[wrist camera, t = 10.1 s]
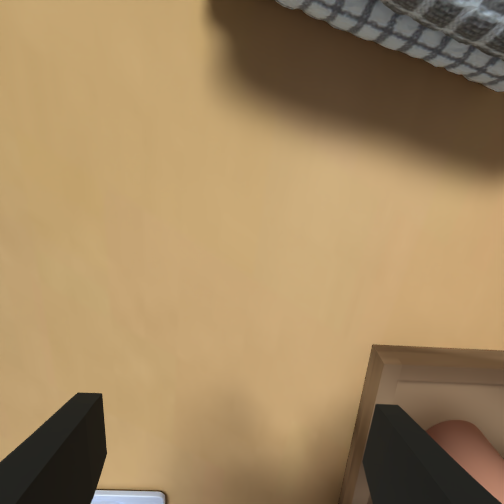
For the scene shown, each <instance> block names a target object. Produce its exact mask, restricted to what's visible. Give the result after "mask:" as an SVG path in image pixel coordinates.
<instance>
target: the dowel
mask: <svg viewBox="0 0 504 504" xmlns="http://www.w3.org/2000/svg"><path fill="white" fill-rule="evenodd" d="M426 432H427V433H428V434H429V435H430V436H431V437H432V438H433V439H434V440H435V441H436V442H437V443H438V444H439V445H440V446H441V447H442V448H443V449H444V450H445V451H446V452H447V453H448V454H449V455H450V456H451V457H452V458H453V459H454V460H455V461H456V462H457V463H458V464H459V465H460V466H461V467H463V468H464V469H465V470H466V471H467V472H468V473H469V474H470V475H471V476H472V477H473V478H474V479H475V480H476V481H477V482H479V483H480V484H481V485H482V486H483V487H484V488H485V489H486V490H487V491H488V492H489V493H491V494H492V495H493V496H494V497H495V498H496V499H497V500H499V501H500V502H501V503H502V504H504V459H503V458H502V457H501V456H500V454H499V453H498V452H497V451H496V449H495V448H494V447H493V446H492V444H491V443H490V442H489V441H488V440H487V438H486V437H485V436H484V435H483V433H482V432H481V431H480V430H479V429H478V427H476V426H475V425H474V424H472V423H470V422H467V421H463V420H449V421H444V422H441V423H439V424H436V425H434V426H433V427H431V428H429V429H428V430H427V431H426Z"/></svg>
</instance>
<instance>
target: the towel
mask: <svg viewBox="0 0 504 504" xmlns="http://www.w3.org/2000/svg"><path fill="white" fill-rule="evenodd" d="M275 1H276V2H277V3H279V4H280V5H282V6H283V7H286V8H289V9H292V10H293V9H300V10H302V11H303V12H304V13H305V14H307V15H309V16H310V17H312V18H315V19H319V20H324V21H326V22H327V23H329V24H330V25H331V26H332V27H334V28H336V29H339V30H342V31H347V32H350V33H351V34H353V35H355V36H356V37H359V38H362V39H364V40H369V41H374V42H376V43H378V44H380V45H381V46H384V47H385V48H388V49H392V50H398V51H400V52H402V53H405V54H408V55H409V56H411V57H414V58H420V59H423V60H424V61H426V62H428V63H431V64H432V65H433V66H435V67H444V68H445V69H446V70H447V71H449V72H453V73H455V74H462V75H463V76H464V77H465V78H466V79H468V80H469V81H473V82H477V83H481V84H483V85H484V86H486V87H487V88H490V89H492V90H494V91H496V92H500V91H501V92H503V91H504V0H275Z"/></svg>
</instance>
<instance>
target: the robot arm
mask: <svg viewBox="0 0 504 504" xmlns="http://www.w3.org/2000/svg"><path fill="white" fill-rule="evenodd" d="M106 455H107V449H106V437H105V424H104V412H103V399H102V393H77V394H76V395H75V396H73V397H72V398H71V399H70V400H69V401H68V402H67V403H66V404H64V405H63V406H62V407H61V408H60V409H59V410H58V411H57V412H56V413H55V414H54V415H53V416H51V417H50V418H49V419H48V420H47V421H46V422H45V423H44V424H43V425H42V426H40V427H39V428H38V429H37V430H36V431H35V432H34V433H33V434H32V435H31V436H29V437H28V438H27V439H26V440H25V441H24V442H23V443H22V444H20V445H19V446H18V447H17V448H16V449H15V450H14V451H12V452H11V453H10V454H9V455H8V456H7V457H6V458H4V459H3V460H2V461H1V462H0V504H165V495H164V494H163V493H162V492H158V491H117V490H96V488H97V484H98V481H99V478H100V475H101V472H102V468H103V465H104V462H105V458H106ZM362 462H363V466H364V471H365V475H366V479H367V483H368V487H369V491H370V495H371V499H372V503H373V504H502V503H501V502H500V501H499V500H497V499H496V498H495V497H494V496H493V495H492V494H491V493H489V492H488V491H487V490H486V489H485V488H484V487H483V486H482V485H481V484H480V483H479V482H477V481H476V480H475V479H474V478H473V477H472V476H471V475H470V474H469V473H468V472H467V471H466V470H465V469H464V468H463V467H461V466H460V465H459V464H458V463H457V462H456V461H455V460H454V459H453V458H452V457H451V456H450V455H449V454H448V453H447V452H446V451H445V450H444V449H443V448H442V447H441V446H440V445H439V444H438V443H437V442H436V441H435V440H434V439H433V438H432V437H431V436H430V435H429V434H428V433H427V432H426V431H425V430H424V429H422V428H421V427H420V426H419V425H418V424H417V423H416V422H415V421H414V420H413V419H412V418H411V417H410V416H409V415H408V414H407V413H406V412H405V411H404V410H403V409H402V408H401V407H400V406H399V405H392V404H376V405H375V409H374V413H373V418H372V422H371V426H370V430H369V435H368V439H367V443H366V447H365V452H364V456H363V460H362Z"/></svg>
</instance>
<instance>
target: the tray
mask: <svg viewBox="0 0 504 504" xmlns="http://www.w3.org/2000/svg"><path fill="white" fill-rule="evenodd" d="M376 404H392V405H399V406H400V407H401V408H402V409H403V410H404V411H405V412H406V413H407V414H408V415H409V416H410V417H411V418H412V419H413V420H414V421H415V422H416V423H417V424H418V425H419V426H420V427H421V428H422V429H424V430H425V431H427V430H428V429H429V428H431V427H433V426H434V425H436V424H439V423H441V422H444V421H449V420H463V421H467V422H470V423H472V424H474V425H475V426H476V427H478V429H479V430H480V431H481V432H482V433H483V435H484V436H485V437H486V438H487V440H488V441H489V442H490V443H491V444H492V446H493V447H494V448H495V449H496V451H497V452H498V453H499V454H500V456H501V457H502V458H503V459H504V351H497V350H476V349H454V348H433V347H411V346H390V345H373V346H372V350H371V355H370V359H369V364H368V369H367V373H366V378H365V382H364V387H363V392H362V396H361V401H360V406H359V410H358V415H357V419H356V424H355V429H354V433H353V438H352V443H351V447H350V452H349V456H348V461H347V466H346V470H345V475H344V480H343V484H342V489H341V493H340V498H339V503H338V504H373V503H372V499H371V495H370V491H369V487H368V483H367V479H366V475H365V471H364V466H363V462H362V460H363V456H364V452H365V447H366V443H367V439H368V435H369V430H370V426H371V422H372V418H373V413H374V409H375V405H376Z"/></svg>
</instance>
